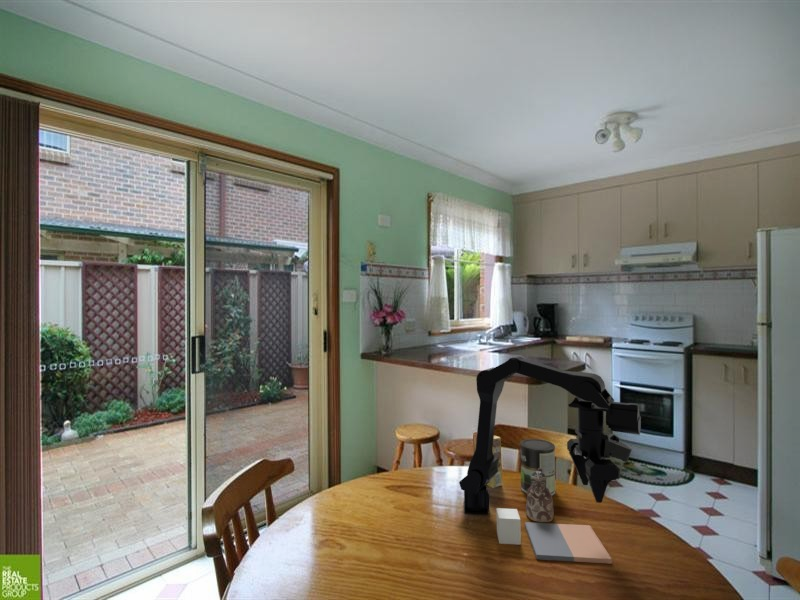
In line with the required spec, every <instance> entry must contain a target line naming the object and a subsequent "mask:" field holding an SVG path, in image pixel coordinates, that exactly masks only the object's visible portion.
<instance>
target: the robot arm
mask: <svg viewBox="0 0 800 600" xmlns="http://www.w3.org/2000/svg"><path fill="white" fill-rule="evenodd" d="M516 374H519V375H522V376H525V377H528V378H531V379H535V380H539V381H541V382H544V383H548V384H551V385H554V386H557V387H559V388H562V389H563V390H565V391H566V392H568V393H569V394H571V395H573V396H575V397H574V399H572V401H571V402H570V403H569V404H568V405H567V406H568V407H569V408H573V409H574V408H575V409H577V428H575V430H574V432H575V434H577V438H569V440H568V441H566V449H567V451H568V454H569V455H570V458H571V460H572V462H573V465H574V467H575V469H576V471H577V474H578V476H579V478H580V481H581V483H582V485H583V486H588V485H589V486H590V488H591V492H592V494H593V497H594V500H595V502H596V504H597V503H599V504H601V503H602V502H603V500H604V497H605V493H606V491H607V488H608V485H609V483H611V482H613V481H617V480H619V479H621V469H620V468H619V467H618V465H616V464H615V463H614V462H613V461H612V460H611V459H610V458H611V457H614V458H616V459H620V460H621V461H622V462H624V463H628V461H629V458H630V456H631V454H632V448H631V447H629V446H628V445H626V444H625V443H623V442H622V441H620V437H619V436H617V435H616V434H613V433H609V434H608V435H607V433H605V424H606V426H607V427H608V428H609V429H610V431H612V432H617V433H625V434H630V435H637V436H640V435H641V429H642V427H641V426H642V425H641V424H642V421H641V419H642V416H641V415H640V407H639V406H640V405H639V403H638V402H637V403H635V402H628V403H627V402H621V401H615V399H614V397H613V396H612V395H611V394H610V392H609V391H608V390H607V389H606V384H605V381H604V380H603V378H602V376H600V375H599V374H596V373H592V372H583V371H571V370H570V371H569V370H563V369H560V368H558V367H553V366H550V365H546V364H544V363H540V362H537V361H533V360H529V359H525V358H523V357H522V356H520V355H518V356H513V357H510V358H509V359H507V360H506V361H505V362H503V363H500V364H499V365H497V366H496V367H494V366H493V367H490V368H486V369H484V370H481V371H479V373H477V375H476V378H475V379H476V392H477V395H478V398H479V409H478V410H479V412H478V420H477V429H476V430H477V431H476V432H477V439H476V449H475V452H474V451H473V455H472V457H471V459H470V461H469V464H468V468H467V472H466V475H465V476H464V477H463V478H462V479H461V480H459V482H458V483H459V486H460V490H461V491H463V513H464V514H474V515H488V514H489V509H490V492H489V490H488V488H487V486H488V485H486V484H488V483H489V481H490V480H491V479H492V478H493V477H494V476H495V474H496V473H497V472H498V467H497V466H498V462H499V458H494V455H493V452H492V448H493V438H494V435H495V426H496V416H497V406H498V400H499V399H500V396H501V394H502V392H503V389H504V385H505V382H506V380H507V379H509V378H510V377H512V376H514V375H516ZM610 456H611V457H610Z"/></svg>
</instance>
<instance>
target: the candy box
mask: <svg viewBox="0 0 800 600" xmlns="http://www.w3.org/2000/svg"><path fill="white" fill-rule="evenodd" d="M476 439H477V431H475V432H472V441H473V442H472V443H473V453H474V452H475V449H476ZM501 442H502V441H501V437H500V436H497V435H495V434H494V438H493V448H492V452H493V455H494V458H499V462H498V466H497V467H498V472H497V473H496V474H495V476H494V477H493V478H492V479H491V480H490V481H489V483H488V484H486V486H488V487H490V488H492V489H495V488H498V487H500V486H502V485H503V481H502V480H503V479H502V478H503V477H502V476H503V474H502V473H503V472H502V443H501Z"/></svg>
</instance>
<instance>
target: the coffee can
mask: <svg viewBox="0 0 800 600" xmlns="http://www.w3.org/2000/svg"><path fill="white" fill-rule="evenodd" d="M519 447H520V448H519V449H520V489H521V491H522V492H523V493H525V494H527V492H528V489H529V488H530V486H532V484H531V476H532V474H533V472H535V471H538V468H541V469H542V472H543V473H544V474H545V476H546V478H547V479H546V487H547V488H548V489H549V491H550V493H551V495H552V497H553V496H554V495H555V494H556V465H555V464H556V459H555V458H556V453H555V452H556V451H555V449H556V444H554V443H553V442H552V441H548V440H545V439H542V438H541V439H540V438H526V439H523V440H521V441H520V442H519Z"/></svg>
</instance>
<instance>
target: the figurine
mask: <svg viewBox="0 0 800 600" xmlns="http://www.w3.org/2000/svg"><path fill="white" fill-rule="evenodd" d="M546 479H547V478H546V476H545V474H544V473H543V472H542V469H541V468H538V471H535V472H533V474H532V476H531V484H532V486H530V488H529V489H528V492H527V493H526V503H525V504H526V505H525V514H526V516H527V517H528V518H529V519H530V520H532V521H535V522H536V523H551V522H552V521H553V519H554V515H555V513H554V512H555V510H554V509H555V508H554V501H553V496H552V495H551V493H550V491H549V489H548V488H547V487H546Z"/></svg>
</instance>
